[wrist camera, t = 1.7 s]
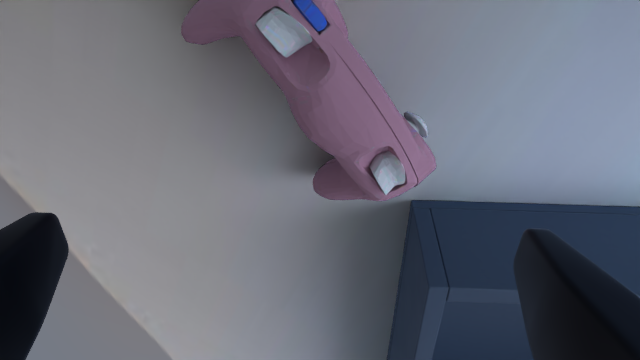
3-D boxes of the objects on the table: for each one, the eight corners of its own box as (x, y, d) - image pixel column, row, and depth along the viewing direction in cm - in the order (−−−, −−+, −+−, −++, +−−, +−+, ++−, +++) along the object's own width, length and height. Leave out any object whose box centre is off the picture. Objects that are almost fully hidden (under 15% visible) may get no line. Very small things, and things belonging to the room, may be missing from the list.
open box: (740, 209, 23) (838, 301, 19) (622, 390, 32) (670, 483, 27) (411, 199, 24) (428, 287, 19) (383, 381, 32) (390, 472, 28)
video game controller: (389, 131, 23) (484, 175, 17) (317, 195, 23) (386, 264, 17) (257, -58, 19) (320, -92, 12) (166, 19, 18) (183, 25, 12)
